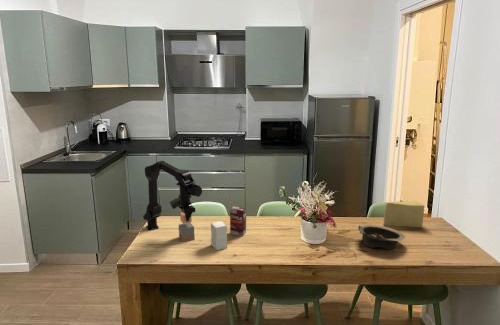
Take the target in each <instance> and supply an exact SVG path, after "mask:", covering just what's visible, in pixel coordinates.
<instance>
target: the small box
mask: <svg viewBox="0 0 500 325" xmlns="http://www.w3.org/2000/svg"><path fill="white" fill-rule="evenodd" d="M210 235H211V236H210V237H211V238H210V239H211V244H210V245H211V246H213V248H214V249H215V250H216V251H220V250H223V249H224V250H225V249H228V226H227V225H226V224H225V223H224V222H223V221H222V220H220V221H219V220H217V221H213V222H211V223H210Z"/></svg>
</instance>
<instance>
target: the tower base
mask: <svg viewBox="0 0 500 325" xmlns="http://www.w3.org/2000/svg"><path fill="white" fill-rule="evenodd" d="M195 236H196V235H195V232H194V233H193V234H188V235H183V236H182V235H181V233H180V232H179V231H178V237H179V239H180V240H181V242H182V243H183V242H189V241H194V240H195V239H196V238H195Z"/></svg>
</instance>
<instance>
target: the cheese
mask: <svg viewBox="0 0 500 325" xmlns="http://www.w3.org/2000/svg"><path fill="white" fill-rule="evenodd" d="M424 215H425V205H424V204H423V203H422V202H421V201H420V200H402V201H387V202H386V204H385V209H384V213H383V225H384V226H392V227H394V226H396V227H407V226H408V227H411V228H420V227H421V228H423V224H424Z"/></svg>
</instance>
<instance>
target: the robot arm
mask: <svg viewBox="0 0 500 325" xmlns="http://www.w3.org/2000/svg"><path fill="white" fill-rule="evenodd" d="M160 171H163V172H165V173H167V174H168V175H171V176H172V177H174V179H175V180H176V181H177V183H176V186H179V194H178V197H177V198H174V199H172V200H170V201H169V204H170V206H171V208H172V209H173V210H174V209H177V208H179V209H180V210H181V212H183V213H185V217H186V221H189V219H190V217H191V218H192V214H193V213H196V207H194V206H193V205H192V204H193V203H192V202H191V198H192V197H197V198H199V197H200V196H201V195H202V194H203V189H202V187H201V186H200V183H196V181H195V179H194V177H193V176H192V174H191V171H189V170H186V169H180V168H177V167H176V166H174V165H172V164H169V163H167V162H166V161H165V160H159V161H156V162H155V163H153V164H150V165H148V166H145V168H144V175H145V178H146V179H147V180H148V185H147V186H148V204H147V207H146V211H145V213H144V215H143V220H144V221H146V222H147V225H146V226H145V227H146V229H147V231H150V230H156V229H157V230H158V229H159V226H158V219H157V218H159V217H161V213H162V211H163V210H162V205H161V204H160V203H159V202H158V178H159V176H160Z"/></svg>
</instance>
